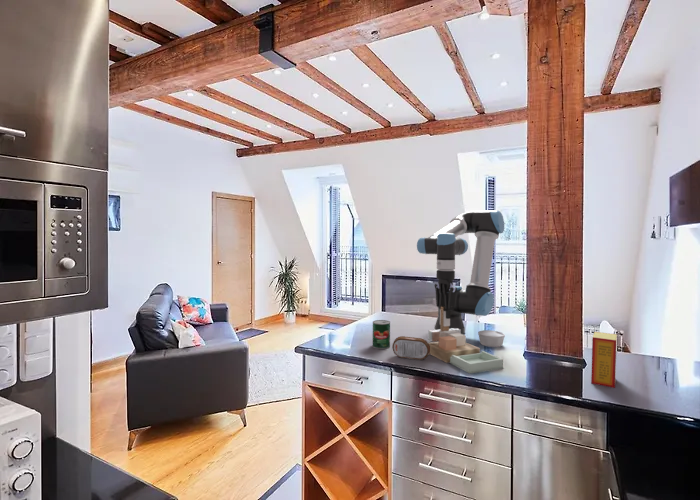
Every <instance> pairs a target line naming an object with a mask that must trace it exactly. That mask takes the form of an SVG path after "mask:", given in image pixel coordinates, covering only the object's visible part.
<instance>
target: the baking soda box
mask: <svg viewBox="0 0 700 500" xmlns="http://www.w3.org/2000/svg"><path fill="white" fill-rule="evenodd" d="M617 338H618V334H616V333H608V332H599V331H594V332H593V335H592V340H591V341H592V343H591V345H592V347H591V375H590V379H591V382H590V384H593V385H597V386H603V387H608V388H613V389H616V378H617V373H616V372H617V344H618V343H617V342H618V339H617Z"/></svg>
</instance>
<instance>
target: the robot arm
mask: <svg viewBox="0 0 700 500" xmlns="http://www.w3.org/2000/svg"><path fill="white" fill-rule="evenodd" d="M504 230H505V220H504V216H503V214H502V212H501V211H500V210H496V209H495V210H493V209H490V210H470V211H466V212H463V213H461V214H459V215H457V216H455V217H453V218H452V219H451V220H450V221H449V223H447V224H446V225H445V226H443V227H442V228H441V229H439V230H438V231H436V232H435V233H432V235H430V236H428V237H420V238H418V240H417V243H416V250H417V252H418V253H419V254H425V255H436V269H437V270H436V276H435V277H436V279H437V280H438V281H437V283H435V284H434V290H435V301H436V307H437V318H436V321H435V324H434V329H433V330H440V318H441V306H445V310H444V322H443V326H449V329H451V328H458V329H461V334H463V335H465V332H466V327H465V324H464V321H463V318H462V314H467V315H473V316H474V315H475V316H476V317H477V316H478V317H479V316H483V317H485V316H488V315H489V314H490V313H491V312H492V310H493V308H494V303H495V296H494V293H493V292H492V289H491V288H490V287H489V283H490V277H491V276H490V275H491V269H492V262H493V255H494V248H495V241H496V240H497V239H499V235H501V234H503V233H504ZM464 234H474V236H475V238H476V242H475V243H476V244H475V248H474V249H475V250H474V256H473V261H472V262H473V263H472V269H471V274H470V279H469V280H470V281H469V283H468V284H467V285H466V286H465V289H463V287H462V286H461V285H454V282H453V280H455V278H456V277H455V275H456V271H455V269H456V256H461V255H465V254H466V253H467V251H468V250H469V244H468V241H467V240H466V239H464V238H462V237H458V236H463V235H464Z"/></svg>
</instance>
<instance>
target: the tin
mask: <svg viewBox="0 0 700 500" xmlns="http://www.w3.org/2000/svg"><path fill="white" fill-rule="evenodd" d="M428 343H429V342H428V341H427V340H426V339H424V338H422V337H413V336H412V337H411V336H405V335H404V336H403V335H401V336H398V337H396V338H395V339H394V340H393V343H392V352H393V353H394V355H396V356H397V357H398V358H401V359H409V360H410V359H411V360H419V361H421V360H424V359H426V358H427V357H428V356H429V355H430V354H429V352H430V346H429V344H428Z"/></svg>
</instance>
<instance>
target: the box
mask: <svg viewBox="0 0 700 500" xmlns="http://www.w3.org/2000/svg"><path fill="white" fill-rule="evenodd" d="M449 364H451V365H453V366H455V367H456V368H458V369H460V370H462V371H464V372H466V373H468V374H469V375H470V374H472V375H473V374H479V373H483V372H484V373H485V372H489V371H490V372H491V371H496V370H501V369H502V370H504V358H502V357H499V356H497V355H495V354H492V353H489V352H486V351H484V350H482V351H481V350H480V353H476V354H468V355H461V356H455V355H452V357H450V362H449Z"/></svg>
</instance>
